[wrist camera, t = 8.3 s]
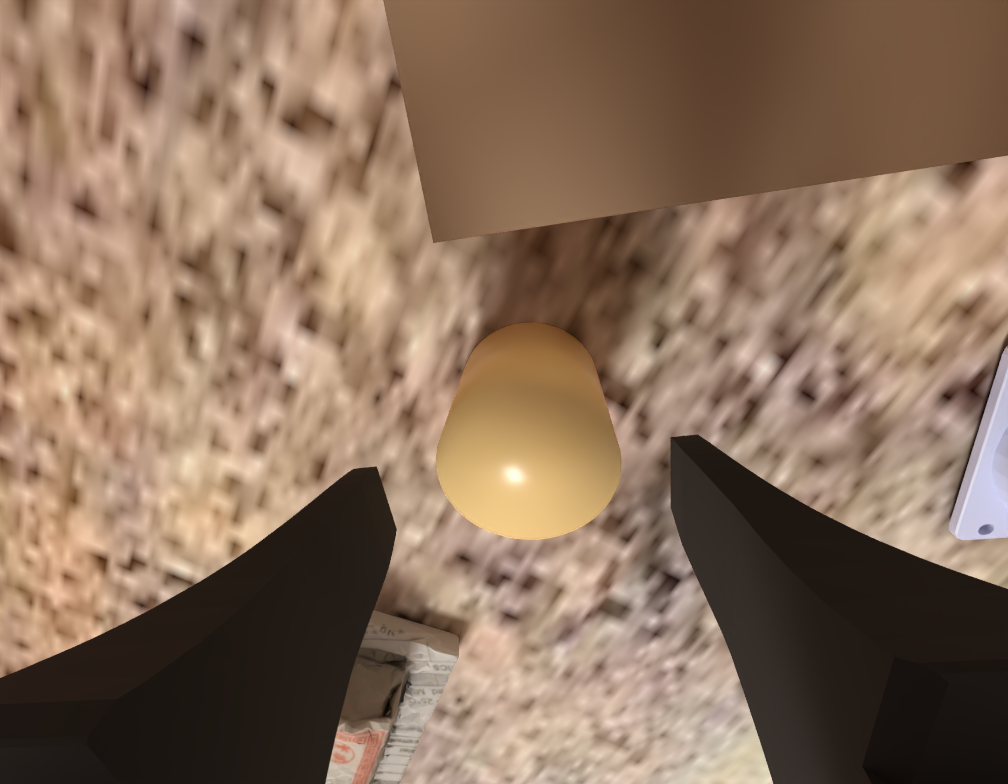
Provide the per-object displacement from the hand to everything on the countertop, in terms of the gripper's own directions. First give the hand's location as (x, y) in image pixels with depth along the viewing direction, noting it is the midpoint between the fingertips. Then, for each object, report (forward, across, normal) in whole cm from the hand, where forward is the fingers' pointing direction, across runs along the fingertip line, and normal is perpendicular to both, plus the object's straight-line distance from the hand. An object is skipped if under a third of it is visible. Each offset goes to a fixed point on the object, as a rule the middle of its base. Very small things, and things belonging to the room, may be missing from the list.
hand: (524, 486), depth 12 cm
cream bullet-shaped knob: (+6, 0, 0) cm, 6 cm away
